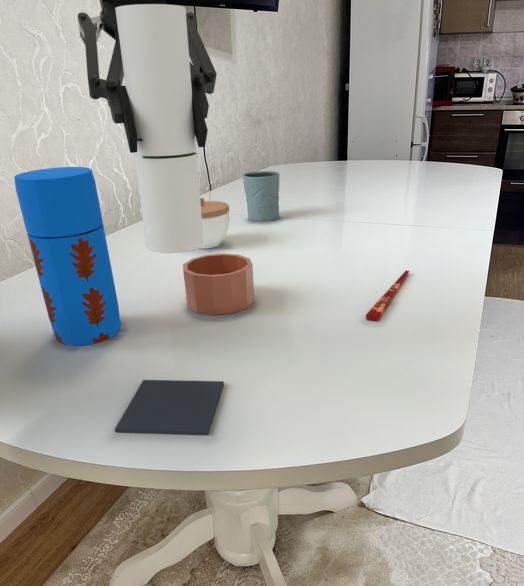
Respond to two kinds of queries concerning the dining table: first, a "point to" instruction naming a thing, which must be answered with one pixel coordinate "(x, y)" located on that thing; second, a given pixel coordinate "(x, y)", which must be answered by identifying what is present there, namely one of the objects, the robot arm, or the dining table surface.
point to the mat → (172, 407)
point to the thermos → (70, 252)
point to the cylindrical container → (162, 123)
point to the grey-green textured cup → (262, 195)
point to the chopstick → (385, 299)
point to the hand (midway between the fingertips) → (169, 141)
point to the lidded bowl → (214, 222)
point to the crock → (219, 283)
